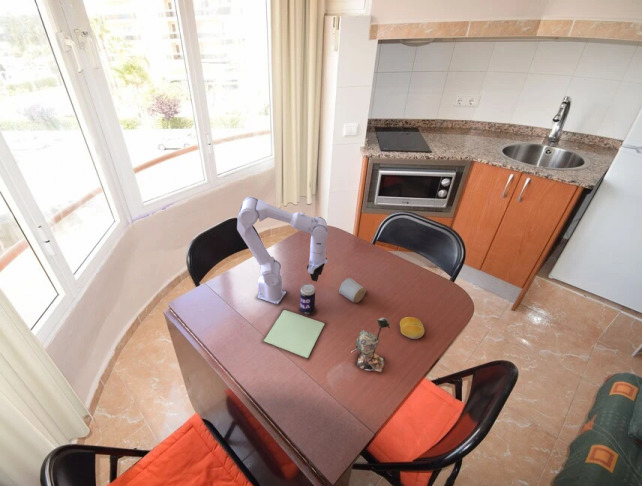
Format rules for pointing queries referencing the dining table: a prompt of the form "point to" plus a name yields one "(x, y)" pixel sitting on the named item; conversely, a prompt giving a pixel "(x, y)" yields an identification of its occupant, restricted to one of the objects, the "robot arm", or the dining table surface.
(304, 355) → the mat
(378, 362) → the grey figurine
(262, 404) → the dining table surface
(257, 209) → the robot arm
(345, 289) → the white cylinder
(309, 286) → the beverage can
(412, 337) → the bread roll
